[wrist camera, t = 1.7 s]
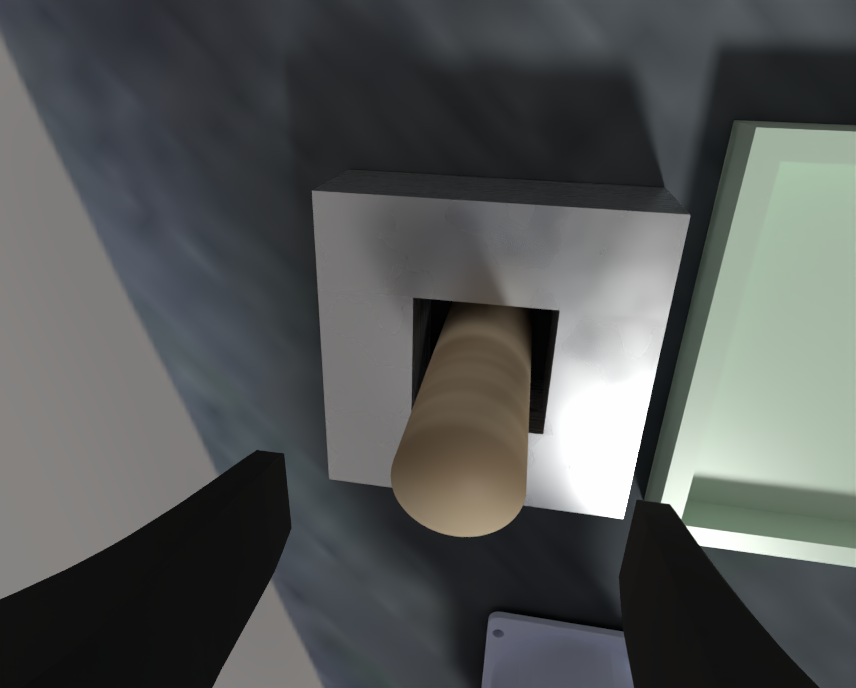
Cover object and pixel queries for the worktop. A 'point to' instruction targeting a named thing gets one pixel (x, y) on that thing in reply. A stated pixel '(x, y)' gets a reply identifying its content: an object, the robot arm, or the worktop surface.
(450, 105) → the worktop surface
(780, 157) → the tray
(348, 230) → the socket block
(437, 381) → the pin
